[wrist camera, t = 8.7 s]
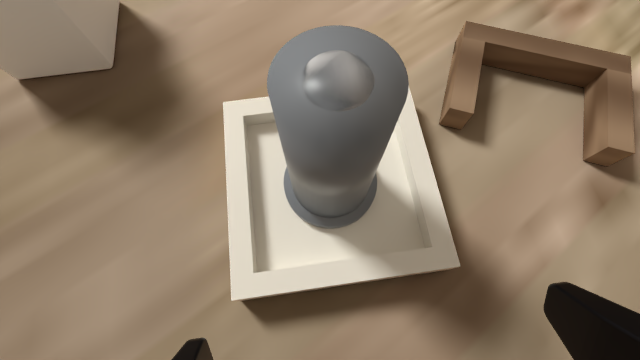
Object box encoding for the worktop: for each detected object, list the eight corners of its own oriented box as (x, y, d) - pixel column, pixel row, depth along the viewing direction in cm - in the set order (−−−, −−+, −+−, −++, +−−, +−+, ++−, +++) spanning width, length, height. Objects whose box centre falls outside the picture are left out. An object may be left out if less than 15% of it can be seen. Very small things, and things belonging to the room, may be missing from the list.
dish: (446, 269, 19) (460, 266, 17) (240, 300, 18) (231, 300, 16) (400, 97, 23) (406, 79, 21) (231, 118, 23) (223, 102, 21)
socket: (607, 166, 21) (635, 153, 19) (438, 124, 22) (449, 107, 20) (606, 76, 24) (630, 56, 22) (455, 42, 25) (466, 21, 23)
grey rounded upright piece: (394, 196, 20) (460, 100, 10) (316, 247, 19) (311, 192, 9) (342, 128, 21) (358, -8, 12) (268, 171, 20) (221, 59, 11)
